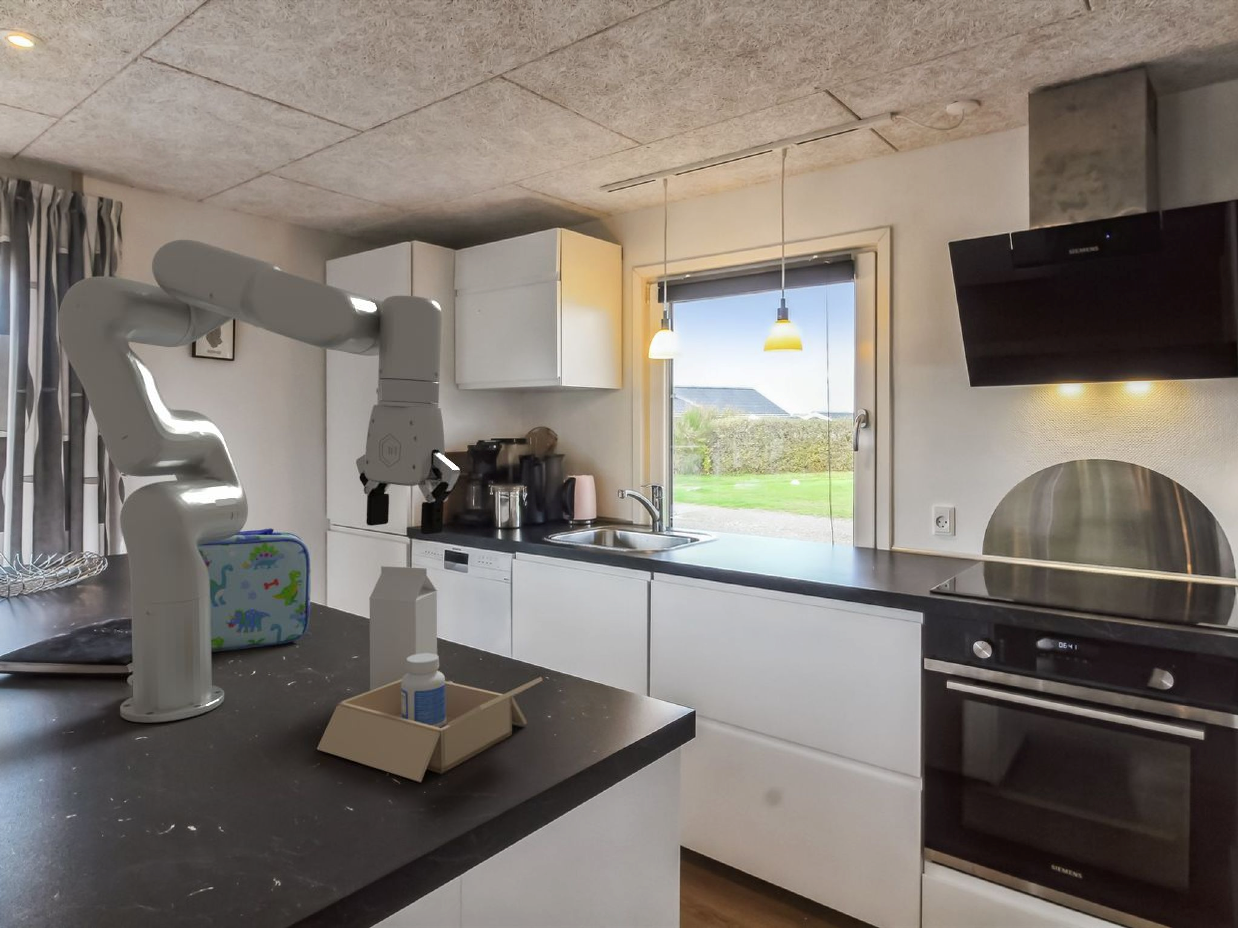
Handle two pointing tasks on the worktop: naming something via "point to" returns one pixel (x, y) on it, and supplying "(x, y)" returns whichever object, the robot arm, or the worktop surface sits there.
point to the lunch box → (257, 589)
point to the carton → (416, 730)
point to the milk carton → (400, 622)
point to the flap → (494, 701)
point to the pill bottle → (423, 691)
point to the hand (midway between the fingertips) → (403, 528)
